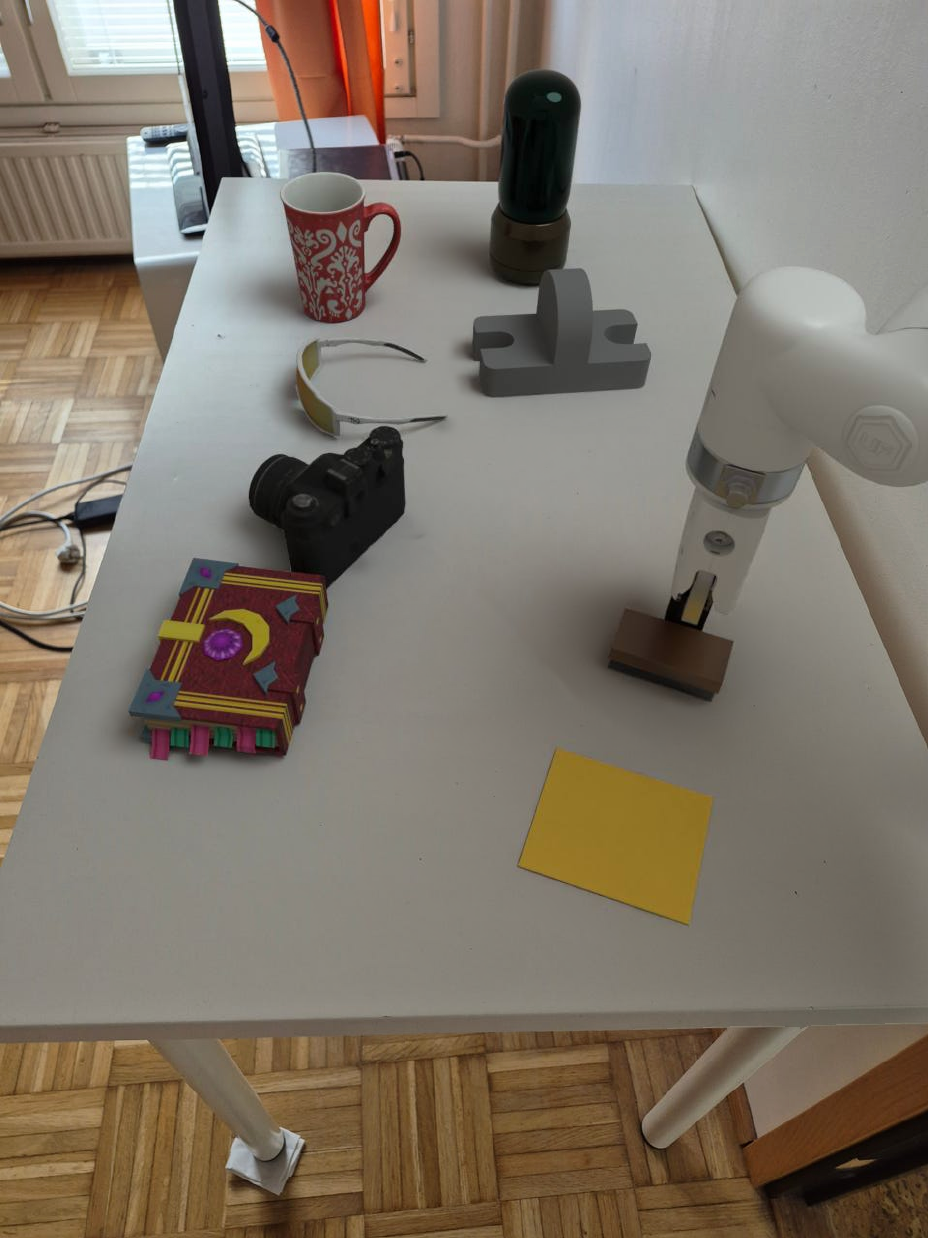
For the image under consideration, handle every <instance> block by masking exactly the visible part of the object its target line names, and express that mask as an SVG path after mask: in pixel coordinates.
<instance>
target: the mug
mask: <svg viewBox="0 0 928 1238" xmlns="http://www.w3.org/2000/svg"><path fill="white" fill-rule="evenodd" d="M366 195H367V191H366V188H365V186H364V185H363V184H362V182H361V181H360V180H358V179H357V178H355V177H353V176H351V175H348V174H345V173H340V172H333V171H319V172H310V173H306V174H302V175H298V176H296V177H293V178H292V179H290V180H289V181H287V182H285V184H284V185H282V187H281V189H280V191H279V199H280V200H281V202H282V204H283V209H284V214H285V220H286V226H287V230H288V235H289V241H290V246H291V250H292V255H293V262H294V266H295V271H296V276H297V282H298V286H299V292H300V298H301V303H302V308H303V311H304V313H305V314H306V315H307V316H309V317H310V318H311V319H313V320H316V321H318V322H323V323H329V324H330V323H331V324H332V323H333V324H335V323H343V322H346V321H350V320H352V319H354V318H357V317H358V316H359V315H360V314H361V313H363V311H364V310H365V307H366V293H367V292H368V291H369V290H370V288H371V287H372V286H373V285H374V284H375V283H376V281H377V280H379V278H380V277H381V275H383V273H384V272H385V270H387V268H388V267H389V265H390V263H391V262H392V260H393V259H394V256H395V255H396V253H397V251H398V248H399V246H400V242H401V237H402V223H401V219H400V216H399V213H398V212H397V210H396V209H395V207H394V206H392V205H391V204H389V203H387V202H374V203H371V204H369V205H366V206H365V199H366ZM380 215H385V216H388V217H389V218H390V219H391V221H392V224H393V225H392V226H393V233H392V237H391V240H390V243H389V245H388V246H387V247H386V250H385V252H384V253H383V255H382V256H381V257H380V259H379V260H378V262H377V263H376V265H374V267H373V268H372V269H371V270H370V271H369V272H365V271H366V269H365V267H366V266H365V265H366V263H365V261H366V260H365V257H366V255H365V234H366V232H368V230H369V228H370V225H371V222H372V221H373V220H374V219H375V218H376V217H377V216H380Z"/></svg>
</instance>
